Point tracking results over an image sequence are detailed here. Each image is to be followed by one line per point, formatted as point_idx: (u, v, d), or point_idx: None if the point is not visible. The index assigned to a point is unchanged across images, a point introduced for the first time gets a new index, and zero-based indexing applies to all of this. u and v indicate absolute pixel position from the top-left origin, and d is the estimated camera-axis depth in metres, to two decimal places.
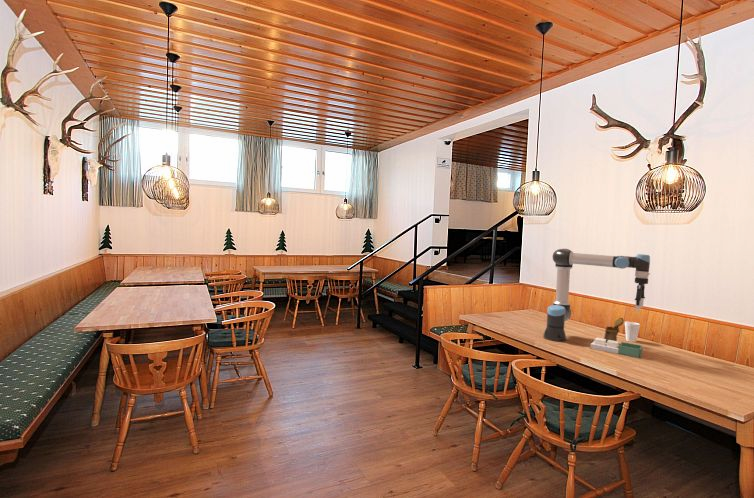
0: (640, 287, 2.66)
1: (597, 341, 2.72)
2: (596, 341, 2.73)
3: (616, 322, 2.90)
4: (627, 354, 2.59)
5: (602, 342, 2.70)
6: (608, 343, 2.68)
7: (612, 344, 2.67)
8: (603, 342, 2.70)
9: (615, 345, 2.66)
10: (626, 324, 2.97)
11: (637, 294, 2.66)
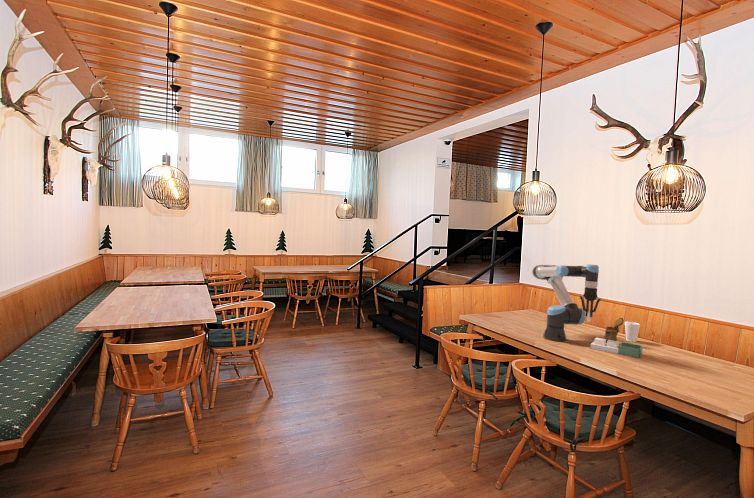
0: None
1: (597, 341, 2.72)
2: (596, 341, 2.73)
3: (616, 322, 2.90)
4: (627, 354, 2.59)
5: (602, 342, 2.70)
6: (608, 343, 2.68)
7: (612, 344, 2.67)
8: (603, 342, 2.70)
9: (615, 345, 2.66)
10: (626, 324, 2.97)
11: None
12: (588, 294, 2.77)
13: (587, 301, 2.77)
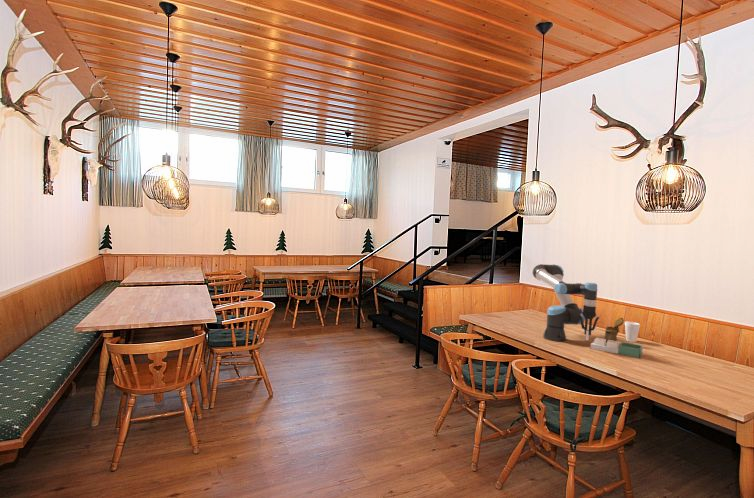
0: None
1: (597, 341, 2.72)
2: (596, 341, 2.73)
3: (616, 322, 2.90)
4: (627, 354, 2.59)
5: (602, 342, 2.70)
6: (608, 343, 2.68)
7: (612, 344, 2.67)
8: (603, 342, 2.70)
9: (615, 345, 2.66)
10: (626, 324, 2.97)
11: None
12: (587, 312, 2.78)
13: (586, 319, 2.78)
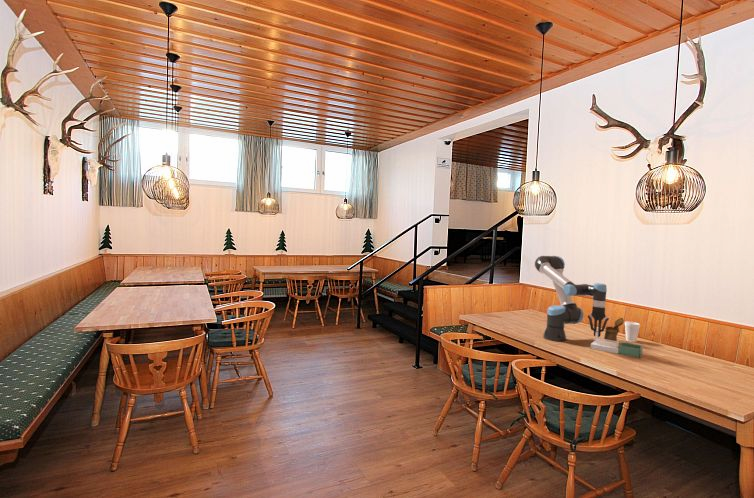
0: None
1: (600, 341, 2.71)
2: (599, 341, 2.72)
3: (616, 322, 2.90)
4: (627, 354, 2.59)
5: (605, 343, 2.69)
6: (608, 343, 2.68)
7: (612, 344, 2.67)
8: (606, 343, 2.69)
9: (615, 345, 2.66)
10: (626, 324, 2.97)
11: None
12: (596, 313, 2.74)
13: (595, 320, 2.74)
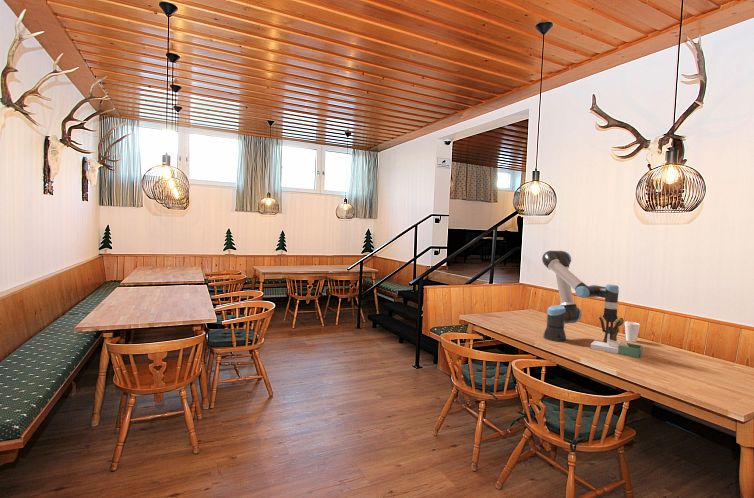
0: None
1: (612, 344, 2.67)
2: (611, 344, 2.67)
3: (616, 322, 2.90)
4: (627, 354, 2.59)
5: (617, 345, 2.65)
6: (623, 344, 2.63)
7: None
8: (618, 345, 2.65)
9: None
10: (626, 324, 2.97)
11: None
12: (608, 315, 2.70)
13: (607, 322, 2.70)
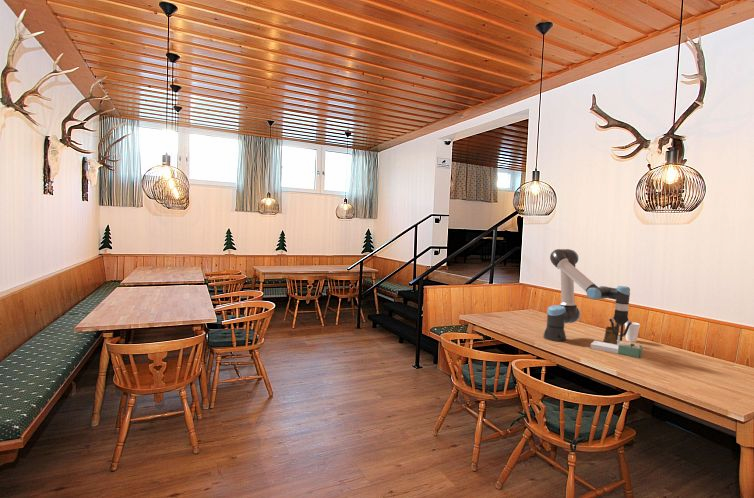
0: None
1: (622, 345, 2.63)
2: (621, 345, 2.64)
3: None
4: (627, 354, 2.59)
5: (627, 346, 2.62)
6: (637, 348, 2.58)
7: None
8: (628, 346, 2.61)
9: None
10: (626, 324, 2.97)
11: None
12: (618, 317, 2.66)
13: (617, 324, 2.66)
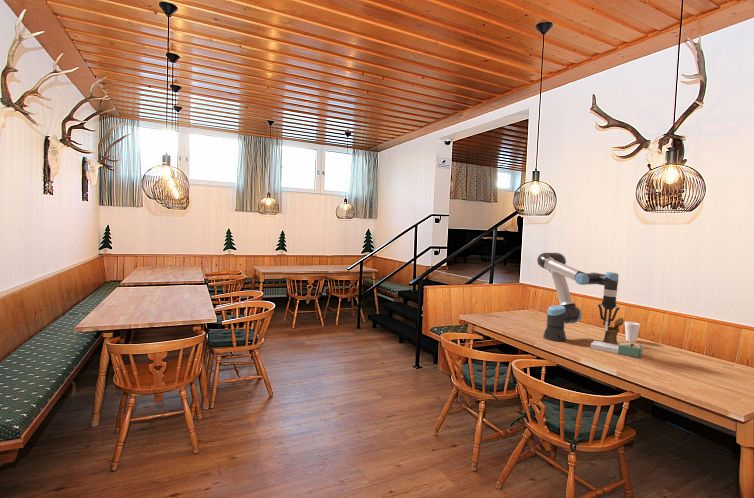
0: None
1: None
2: None
3: (616, 322, 2.90)
4: (627, 354, 2.59)
5: (627, 346, 2.62)
6: (637, 348, 2.58)
7: None
8: (628, 346, 2.61)
9: None
10: (626, 324, 2.97)
11: None
12: (607, 302, 2.70)
13: (605, 310, 2.70)
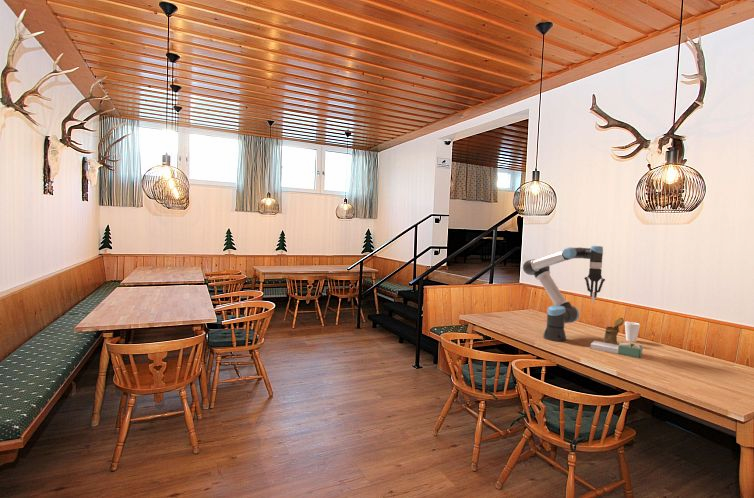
0: None
1: None
2: None
3: (616, 322, 2.90)
4: (627, 354, 2.59)
5: (627, 346, 2.62)
6: (637, 348, 2.58)
7: None
8: (628, 346, 2.61)
9: None
10: (626, 324, 2.97)
11: None
12: (592, 275, 2.82)
13: (591, 282, 2.82)
